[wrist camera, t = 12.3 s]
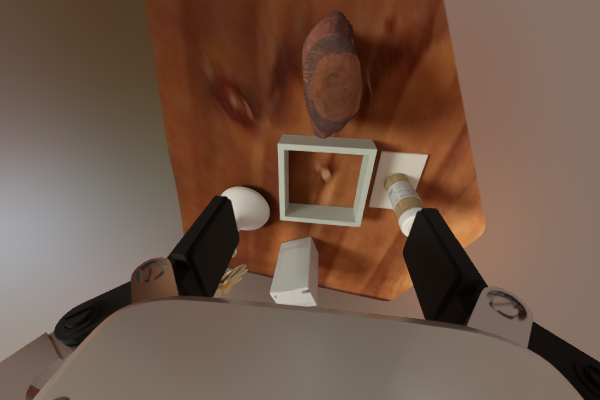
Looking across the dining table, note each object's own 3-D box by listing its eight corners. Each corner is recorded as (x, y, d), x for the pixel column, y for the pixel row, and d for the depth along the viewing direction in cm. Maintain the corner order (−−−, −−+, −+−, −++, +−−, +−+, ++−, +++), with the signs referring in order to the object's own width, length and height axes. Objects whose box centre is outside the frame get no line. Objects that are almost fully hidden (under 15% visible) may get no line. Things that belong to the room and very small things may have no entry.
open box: (283, 134, 41) (277, 143, 37) (372, 139, 40) (377, 149, 35) (284, 206, 50) (280, 220, 46) (357, 212, 48) (359, 227, 44)
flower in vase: (247, 231, 55) (197, 339, 34) (211, 199, 51) (130, 299, 30) (287, 207, 50) (257, 317, 29) (251, 168, 46) (186, 265, 25)
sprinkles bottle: (400, 195, 44) (424, 243, 33) (379, 188, 44) (395, 234, 33) (413, 176, 42) (443, 220, 31) (390, 168, 42) (413, 211, 30)
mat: (381, 151, 41) (381, 152, 40) (427, 153, 40) (428, 155, 39) (368, 205, 47) (368, 207, 47) (407, 208, 47) (408, 210, 46)
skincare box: (289, 257, 59) (279, 312, 46) (280, 241, 56) (267, 294, 43) (320, 252, 56) (317, 308, 44) (312, 234, 53) (307, 289, 41)
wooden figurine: (355, 109, 37) (373, 146, 22) (317, 115, 38) (310, 155, 24) (351, 20, 31) (371, -10, 16) (306, 31, 32) (286, 12, 17)
